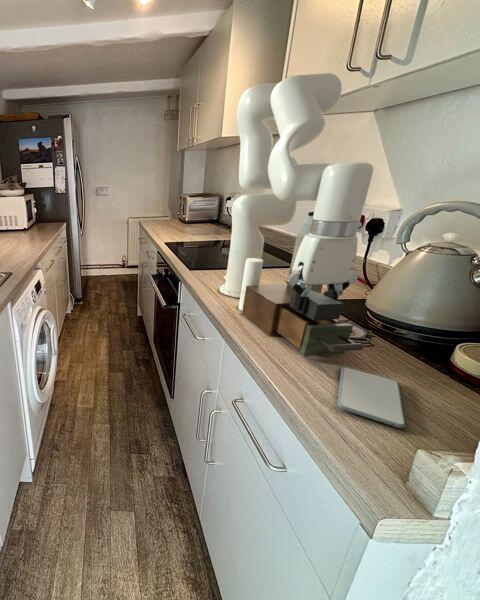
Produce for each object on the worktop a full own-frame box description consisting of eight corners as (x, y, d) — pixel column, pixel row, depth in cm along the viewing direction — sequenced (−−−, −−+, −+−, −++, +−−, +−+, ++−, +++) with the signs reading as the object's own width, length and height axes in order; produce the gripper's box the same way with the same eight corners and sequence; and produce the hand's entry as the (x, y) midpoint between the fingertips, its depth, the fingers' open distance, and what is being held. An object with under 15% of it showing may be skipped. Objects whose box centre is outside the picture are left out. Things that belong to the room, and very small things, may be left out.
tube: (240, 311, 93) (248, 261, 87) (237, 305, 97) (244, 257, 91) (256, 312, 92) (265, 261, 86) (252, 306, 96) (260, 258, 90)
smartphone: (398, 380, 59) (406, 426, 48) (397, 385, 59) (404, 431, 48) (341, 365, 64) (337, 404, 53) (340, 370, 64) (336, 409, 54)
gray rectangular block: (313, 320, 67) (317, 304, 65) (289, 306, 74) (292, 291, 73) (339, 319, 67) (343, 302, 65) (312, 305, 74) (315, 290, 73)
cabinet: (309, 333, 79) (317, 301, 75) (269, 335, 78) (276, 303, 75) (276, 312, 91) (282, 283, 88) (241, 313, 91) (246, 285, 88)
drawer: (364, 366, 63) (374, 336, 61) (320, 369, 63) (329, 339, 61) (304, 328, 80) (310, 303, 77) (269, 329, 79) (274, 304, 77)
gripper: (358, 224, 68) (337, 303, 74) (279, 228, 67) (265, 306, 74) (392, 229, 61) (365, 316, 67) (304, 234, 60) (285, 320, 67)
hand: (313, 310), depth 70 cm, fingers closed on gray rectangular block, 5 cm apart
